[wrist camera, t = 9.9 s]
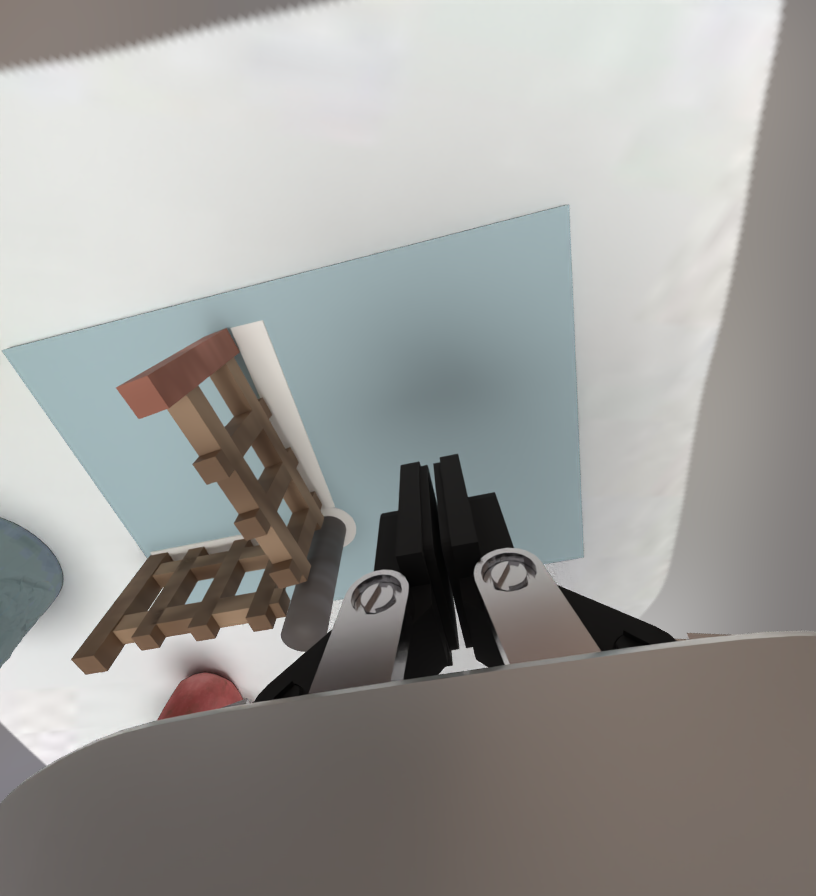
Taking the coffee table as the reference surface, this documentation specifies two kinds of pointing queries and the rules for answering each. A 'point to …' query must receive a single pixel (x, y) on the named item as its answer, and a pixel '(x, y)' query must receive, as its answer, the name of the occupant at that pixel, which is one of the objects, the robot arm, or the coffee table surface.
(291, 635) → the fence fixed
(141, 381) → the swing panel
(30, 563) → the grey green pot
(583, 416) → the coffee table surface
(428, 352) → the card
